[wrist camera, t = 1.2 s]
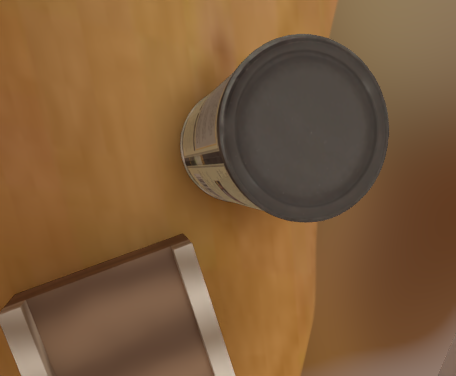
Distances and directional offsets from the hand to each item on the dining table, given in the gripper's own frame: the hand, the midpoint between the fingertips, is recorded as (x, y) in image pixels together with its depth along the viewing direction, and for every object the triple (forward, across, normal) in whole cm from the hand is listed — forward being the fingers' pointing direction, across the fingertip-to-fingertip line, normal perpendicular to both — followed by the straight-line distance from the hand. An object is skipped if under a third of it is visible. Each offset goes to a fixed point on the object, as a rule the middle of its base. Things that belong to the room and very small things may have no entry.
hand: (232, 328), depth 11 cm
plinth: (+19, -5, -16) cm, 25 cm away
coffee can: (+25, +1, +1) cm, 25 cm away
